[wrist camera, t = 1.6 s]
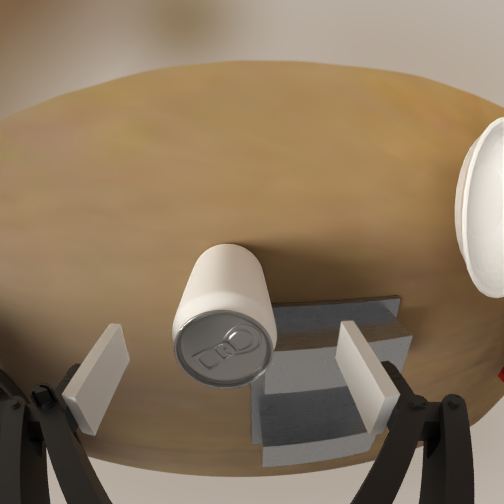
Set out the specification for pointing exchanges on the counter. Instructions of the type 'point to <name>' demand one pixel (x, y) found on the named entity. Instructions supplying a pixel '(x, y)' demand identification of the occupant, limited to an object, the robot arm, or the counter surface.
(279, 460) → the gray metal fixture
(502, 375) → the mug
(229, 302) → the can
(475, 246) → the bowl
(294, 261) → the counter surface
